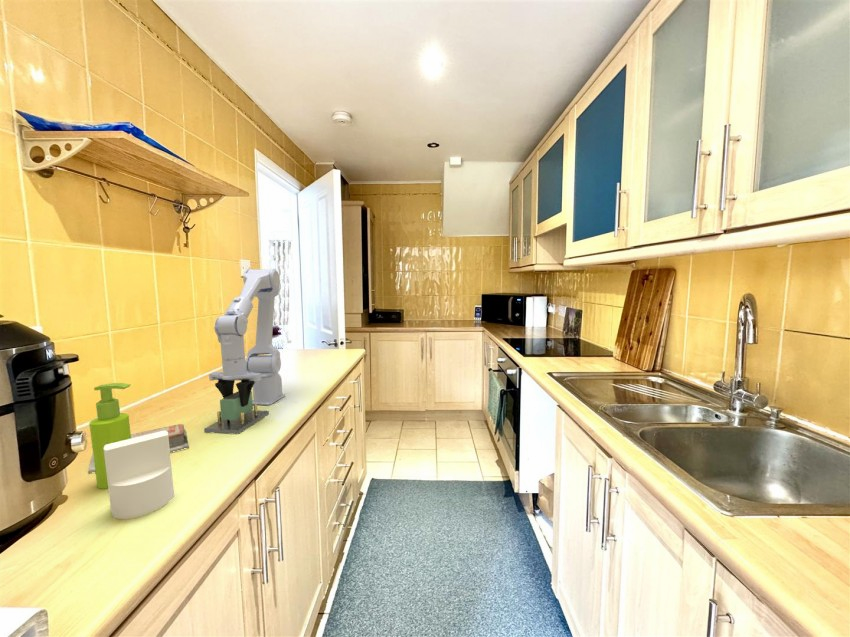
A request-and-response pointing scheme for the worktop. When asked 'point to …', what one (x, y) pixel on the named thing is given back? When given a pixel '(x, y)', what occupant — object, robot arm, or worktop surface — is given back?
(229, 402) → the block
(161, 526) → the worktop surface
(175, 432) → the packaged product
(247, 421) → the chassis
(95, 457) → the soap dispenser
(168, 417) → the worktop surface
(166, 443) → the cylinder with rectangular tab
